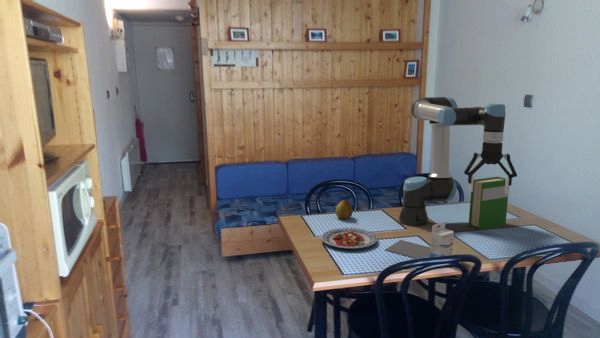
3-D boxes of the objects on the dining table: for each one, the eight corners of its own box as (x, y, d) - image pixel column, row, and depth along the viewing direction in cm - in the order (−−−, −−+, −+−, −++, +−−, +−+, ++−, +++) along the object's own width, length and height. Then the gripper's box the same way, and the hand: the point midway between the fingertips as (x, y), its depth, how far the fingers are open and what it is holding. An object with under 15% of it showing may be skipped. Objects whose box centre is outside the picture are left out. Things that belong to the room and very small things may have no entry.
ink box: (439, 262, 180) (441, 228, 177) (429, 258, 185) (431, 225, 182) (452, 257, 185) (454, 224, 182) (442, 253, 189) (444, 221, 186)
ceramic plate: (312, 236, 211) (312, 230, 210) (358, 229, 221) (358, 223, 220) (337, 256, 188) (337, 249, 187) (388, 246, 198) (388, 240, 197)
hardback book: (479, 229, 218) (483, 183, 213) (468, 225, 225) (471, 179, 220) (505, 224, 225) (509, 179, 220) (493, 220, 232) (497, 176, 227)
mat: (384, 250, 193) (384, 249, 193) (400, 240, 205) (400, 239, 204) (425, 261, 181) (425, 260, 181) (440, 250, 193) (440, 249, 193)
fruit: (336, 215, 243) (336, 194, 240) (352, 215, 241) (352, 194, 239) (335, 220, 234) (335, 198, 232) (352, 220, 233) (352, 199, 231)
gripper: (461, 142, 179) (457, 192, 183) (528, 144, 173) (523, 196, 177) (459, 139, 186) (456, 188, 191) (524, 141, 180) (519, 191, 184)
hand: (488, 192), depth 184 cm, fingers open, 13 cm apart
